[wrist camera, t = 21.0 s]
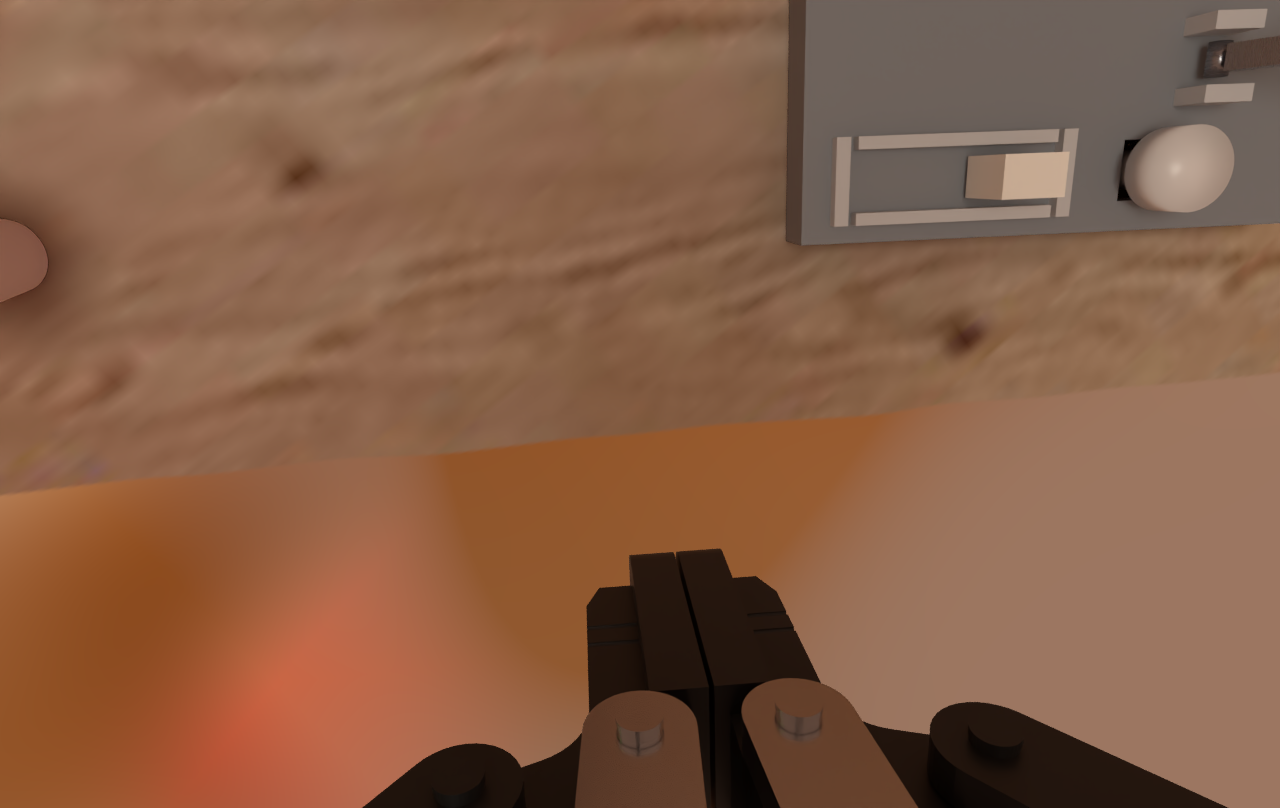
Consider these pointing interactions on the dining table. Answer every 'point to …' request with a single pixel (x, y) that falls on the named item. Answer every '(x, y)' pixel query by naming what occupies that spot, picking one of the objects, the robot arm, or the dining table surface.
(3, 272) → the smoothie
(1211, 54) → the toggle lever
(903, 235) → the panel
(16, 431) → the dining table surface
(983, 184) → the slider knob
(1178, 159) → the push button
